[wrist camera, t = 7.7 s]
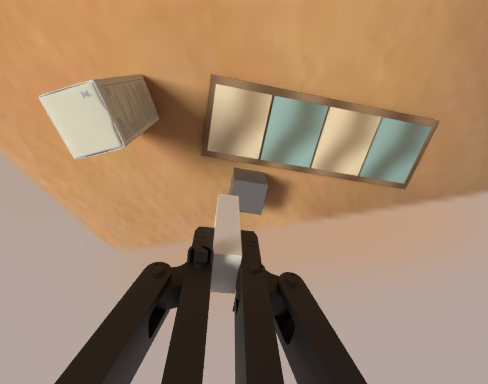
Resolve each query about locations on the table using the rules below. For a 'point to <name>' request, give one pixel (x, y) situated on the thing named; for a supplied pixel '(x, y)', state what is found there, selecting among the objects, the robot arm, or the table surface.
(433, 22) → the table surface
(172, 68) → the table surface
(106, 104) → the box
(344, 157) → the track
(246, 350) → the robot arm
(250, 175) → the cube
